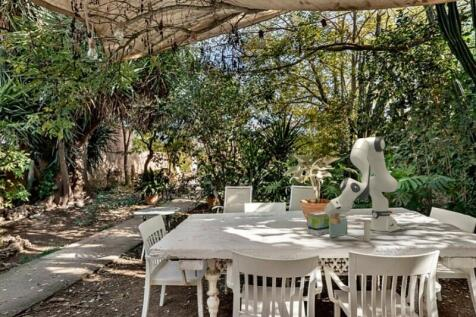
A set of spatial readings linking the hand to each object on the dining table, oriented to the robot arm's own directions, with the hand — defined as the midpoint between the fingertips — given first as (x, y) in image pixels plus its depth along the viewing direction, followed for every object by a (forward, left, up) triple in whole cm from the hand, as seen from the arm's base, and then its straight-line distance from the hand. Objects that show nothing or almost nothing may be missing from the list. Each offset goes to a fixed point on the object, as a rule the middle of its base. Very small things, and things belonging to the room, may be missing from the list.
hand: (332, 215), depth 248 cm
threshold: (-14, +6, -15) cm, 22 cm away
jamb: (-14, +16, -15) cm, 26 cm away
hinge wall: (-14, -6, -15) cm, 22 cm away
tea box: (-2, -16, -15) cm, 22 cm away
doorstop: (0, +2, -5) cm, 6 cm away
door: (-7, -3, -15) cm, 16 cm away
